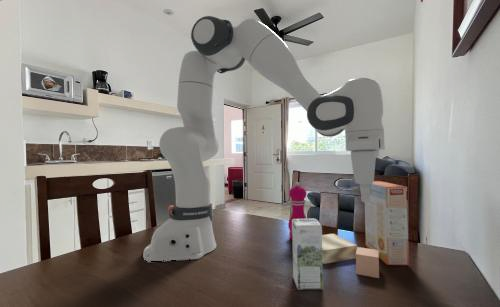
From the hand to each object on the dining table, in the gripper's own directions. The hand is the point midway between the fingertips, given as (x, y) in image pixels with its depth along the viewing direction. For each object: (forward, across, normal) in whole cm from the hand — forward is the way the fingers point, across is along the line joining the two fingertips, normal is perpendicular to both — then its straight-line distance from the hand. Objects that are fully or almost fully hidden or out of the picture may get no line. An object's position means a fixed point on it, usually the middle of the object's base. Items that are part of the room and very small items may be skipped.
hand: (366, 198), depth 61 cm
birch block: (+19, -8, -11) cm, 23 cm away
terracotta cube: (+18, 0, 0) cm, 19 cm away
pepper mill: (+18, -17, -23) cm, 34 cm away
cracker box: (+19, -13, +4) cm, 23 cm away
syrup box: (+18, +12, -12) cm, 25 cm away
